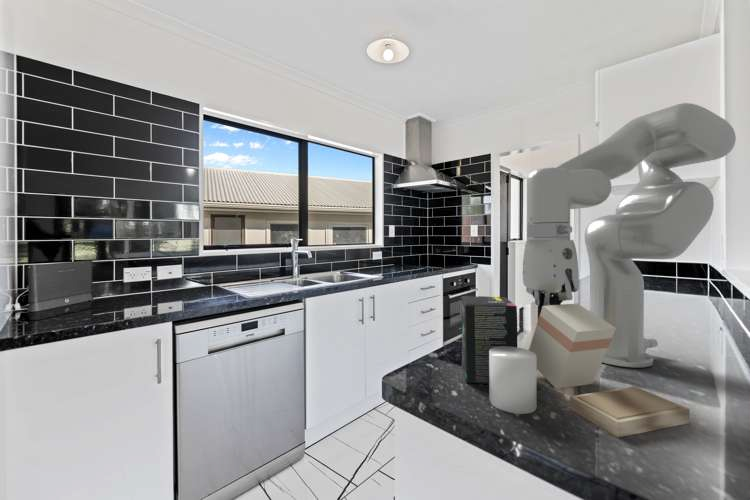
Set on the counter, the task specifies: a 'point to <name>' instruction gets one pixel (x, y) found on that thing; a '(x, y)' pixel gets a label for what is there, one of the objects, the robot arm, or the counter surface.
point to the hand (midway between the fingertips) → (547, 326)
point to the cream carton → (570, 344)
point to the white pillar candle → (513, 379)
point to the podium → (629, 411)
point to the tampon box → (485, 333)
